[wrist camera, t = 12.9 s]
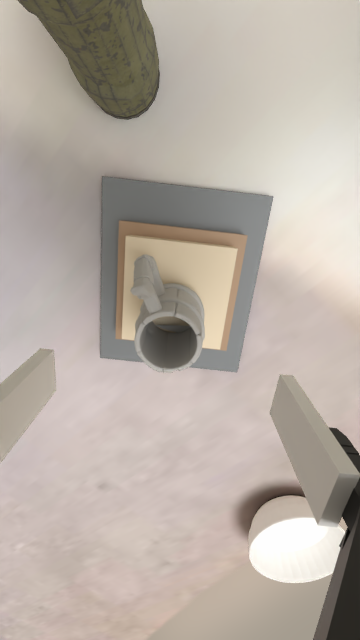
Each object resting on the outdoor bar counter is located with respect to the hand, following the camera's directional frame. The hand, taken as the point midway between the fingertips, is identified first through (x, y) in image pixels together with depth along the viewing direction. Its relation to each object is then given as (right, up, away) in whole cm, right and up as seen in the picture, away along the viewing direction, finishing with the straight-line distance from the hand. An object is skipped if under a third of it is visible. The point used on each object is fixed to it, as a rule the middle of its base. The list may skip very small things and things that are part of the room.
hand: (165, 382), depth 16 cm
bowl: (+23, -36, +41) cm, 60 cm away
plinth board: (+1, +9, +25) cm, 27 cm away
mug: (-1, +7, +18) cm, 19 cm away
